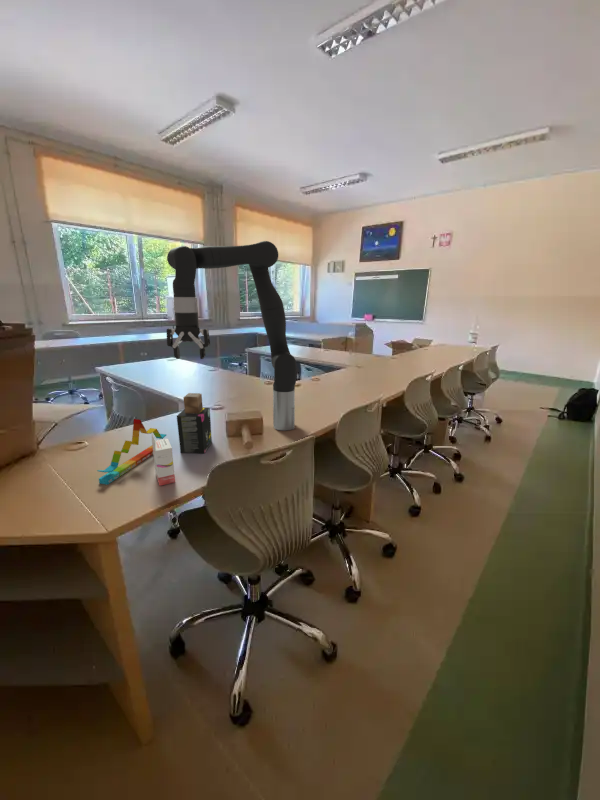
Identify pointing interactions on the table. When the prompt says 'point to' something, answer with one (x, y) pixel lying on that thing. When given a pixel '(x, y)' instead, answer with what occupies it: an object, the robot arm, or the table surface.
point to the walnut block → (193, 403)
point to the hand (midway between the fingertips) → (190, 358)
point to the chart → (116, 470)
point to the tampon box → (194, 431)
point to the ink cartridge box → (163, 461)
